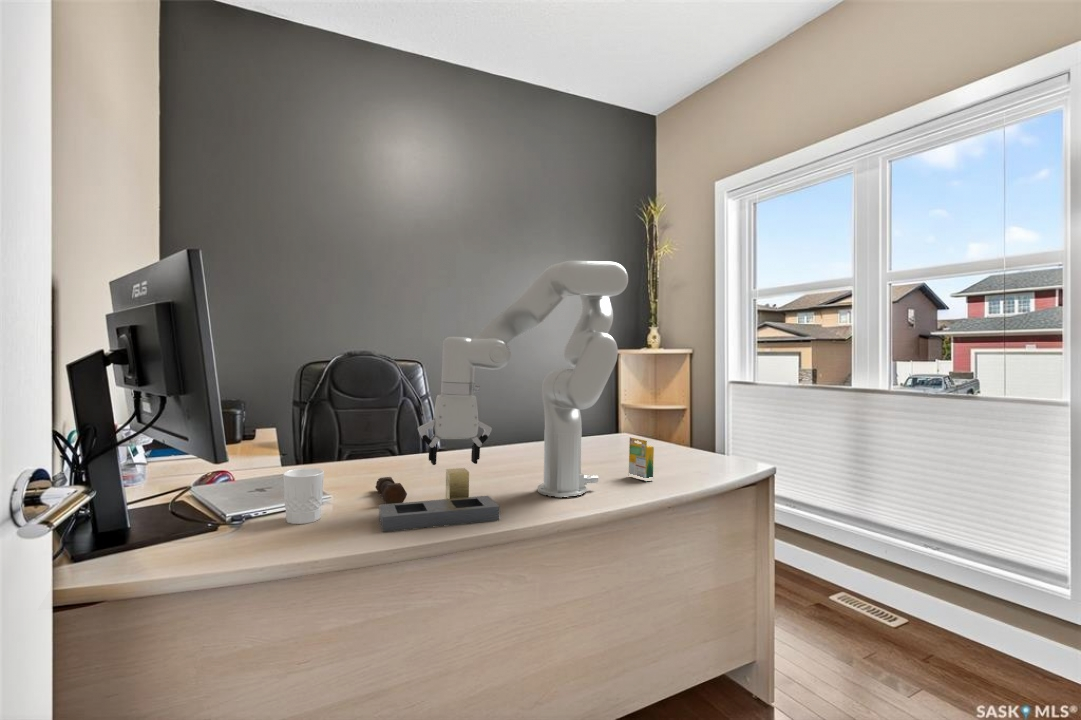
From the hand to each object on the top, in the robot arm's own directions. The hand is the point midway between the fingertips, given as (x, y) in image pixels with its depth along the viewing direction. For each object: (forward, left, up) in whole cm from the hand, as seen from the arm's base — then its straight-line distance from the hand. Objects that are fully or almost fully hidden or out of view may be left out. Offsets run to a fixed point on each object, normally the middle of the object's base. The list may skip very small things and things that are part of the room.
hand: (454, 463), depth 128 cm
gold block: (-1, 0, -10) cm, 10 cm away
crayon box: (-56, -9, -10) cm, 57 cm away
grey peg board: (+5, +10, -10) cm, 15 cm away
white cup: (+32, +1, -10) cm, 34 cm away
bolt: (+14, -11, -10) cm, 20 cm away
